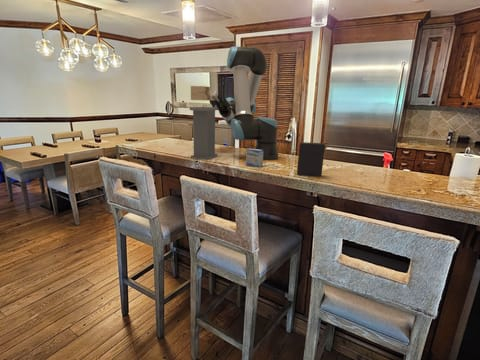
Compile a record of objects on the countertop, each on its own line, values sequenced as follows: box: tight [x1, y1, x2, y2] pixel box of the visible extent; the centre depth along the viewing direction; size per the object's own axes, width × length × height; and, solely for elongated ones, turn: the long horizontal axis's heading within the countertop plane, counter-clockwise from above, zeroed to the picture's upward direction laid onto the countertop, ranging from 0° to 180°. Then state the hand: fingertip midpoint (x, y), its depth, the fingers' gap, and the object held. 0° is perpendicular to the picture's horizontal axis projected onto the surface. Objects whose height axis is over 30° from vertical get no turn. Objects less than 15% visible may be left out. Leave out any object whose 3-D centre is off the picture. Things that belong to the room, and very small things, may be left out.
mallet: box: [190, 85, 217, 101], centre depth 162 cm, size 27×8×7 cm, turn 159°
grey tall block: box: [189, 106, 219, 161], centre depth 162 cm, size 16×11×28 cm
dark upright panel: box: [296, 141, 326, 177], centre depth 131 cm, size 11×4×15 cm, turn 84°
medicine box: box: [245, 148, 264, 168], centre depth 147 cm, size 8×4×9 cm, turn 62°
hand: (212, 93), depth 165 cm, fingers closed on mallet, 2 cm apart
